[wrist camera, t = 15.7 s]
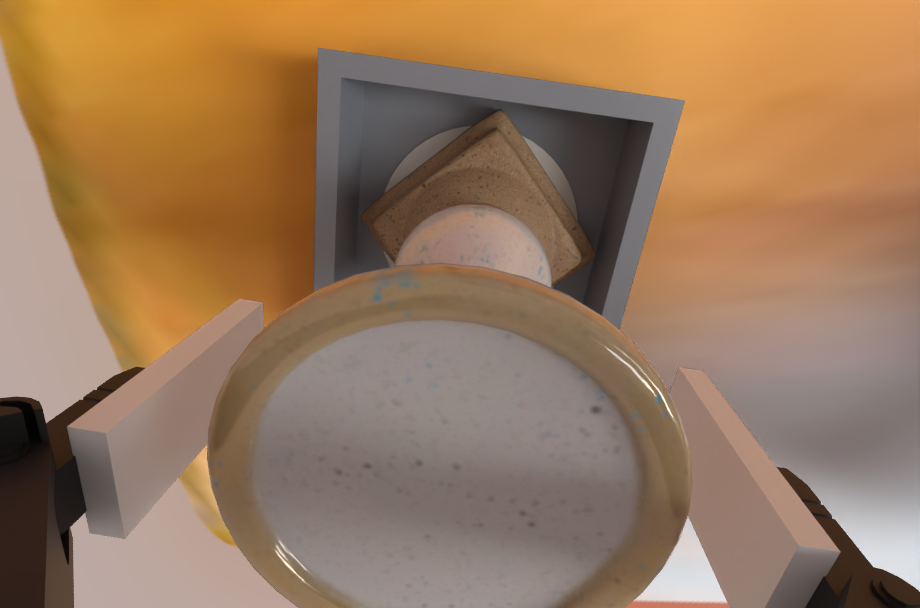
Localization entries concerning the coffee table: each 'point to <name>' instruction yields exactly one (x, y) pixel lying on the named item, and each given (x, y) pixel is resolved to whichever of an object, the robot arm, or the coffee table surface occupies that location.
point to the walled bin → (448, 116)
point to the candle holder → (453, 413)
